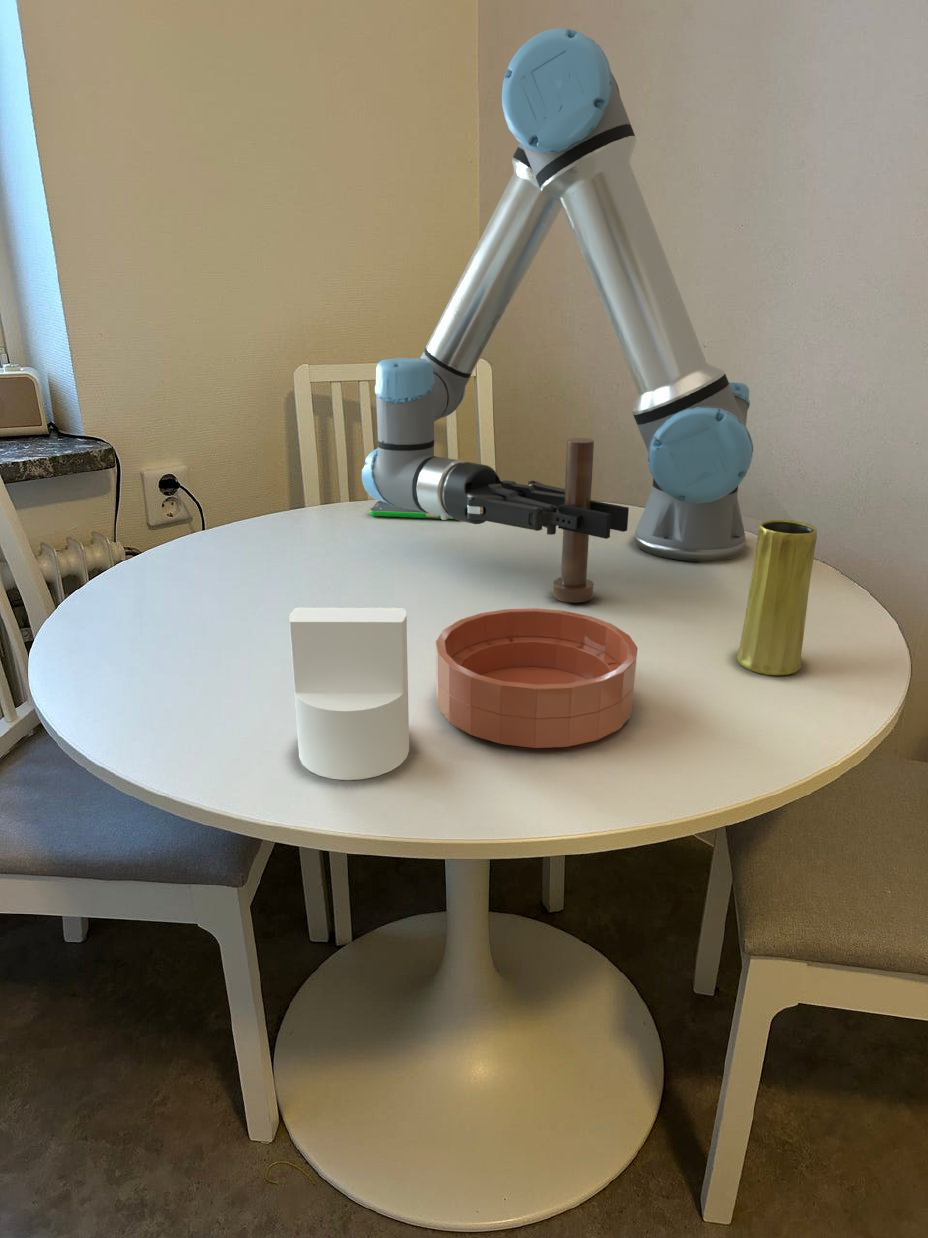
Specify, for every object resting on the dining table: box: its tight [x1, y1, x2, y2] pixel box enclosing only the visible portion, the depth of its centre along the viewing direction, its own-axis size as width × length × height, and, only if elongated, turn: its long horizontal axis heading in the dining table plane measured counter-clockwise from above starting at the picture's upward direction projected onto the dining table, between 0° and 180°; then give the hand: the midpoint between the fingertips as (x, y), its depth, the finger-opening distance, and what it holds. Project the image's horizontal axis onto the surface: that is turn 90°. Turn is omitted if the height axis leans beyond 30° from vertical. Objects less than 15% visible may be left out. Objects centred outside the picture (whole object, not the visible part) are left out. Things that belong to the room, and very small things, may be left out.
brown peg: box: [552, 437, 595, 603], centre depth 102 cm, size 5×5×19 cm
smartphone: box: [368, 500, 455, 520], centre depth 142 cm, size 8×1×15 cm
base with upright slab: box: [288, 607, 410, 781], centre depth 70 cm, size 9×9×12 cm
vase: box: [736, 519, 818, 677], centre depth 85 cm, size 6×6×14 cm
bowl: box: [435, 607, 638, 749], centre depth 78 cm, size 18×18×6 cm
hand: (617, 522), depth 98 cm, fingers closed on brown peg, 3 cm apart
